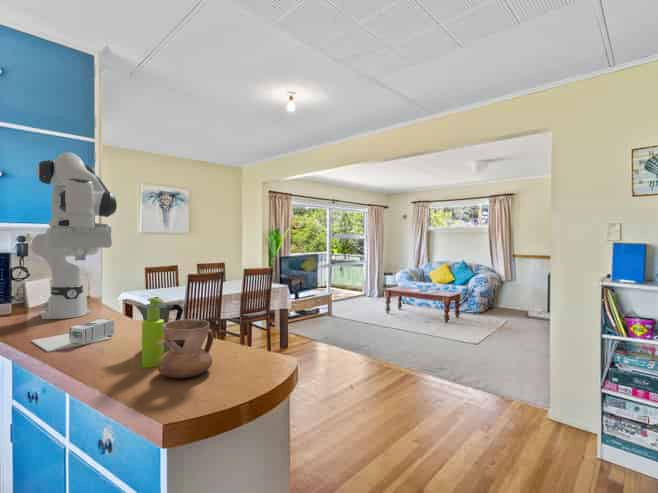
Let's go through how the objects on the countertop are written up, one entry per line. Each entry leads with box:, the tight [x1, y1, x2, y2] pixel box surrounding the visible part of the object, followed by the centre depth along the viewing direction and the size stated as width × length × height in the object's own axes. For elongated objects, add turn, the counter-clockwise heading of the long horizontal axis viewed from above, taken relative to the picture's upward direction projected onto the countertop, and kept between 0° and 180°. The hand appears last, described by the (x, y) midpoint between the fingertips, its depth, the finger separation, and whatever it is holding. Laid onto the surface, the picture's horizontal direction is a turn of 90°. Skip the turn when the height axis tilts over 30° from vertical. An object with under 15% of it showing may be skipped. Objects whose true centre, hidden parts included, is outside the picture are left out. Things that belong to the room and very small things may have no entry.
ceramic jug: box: [156, 318, 215, 379], centre depth 99 cm, size 18×14×14 cm
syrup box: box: [68, 317, 115, 345], centre depth 128 cm, size 6×6×14 cm
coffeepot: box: [136, 296, 184, 353], centre depth 118 cm, size 15×9×18 cm, turn 92°
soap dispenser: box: [141, 297, 165, 369], centre depth 105 cm, size 6×7×20 cm
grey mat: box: [30, 333, 112, 353], centre depth 127 cm, size 18×19×1 cm
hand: (80, 260), depth 128 cm, fingers closed
